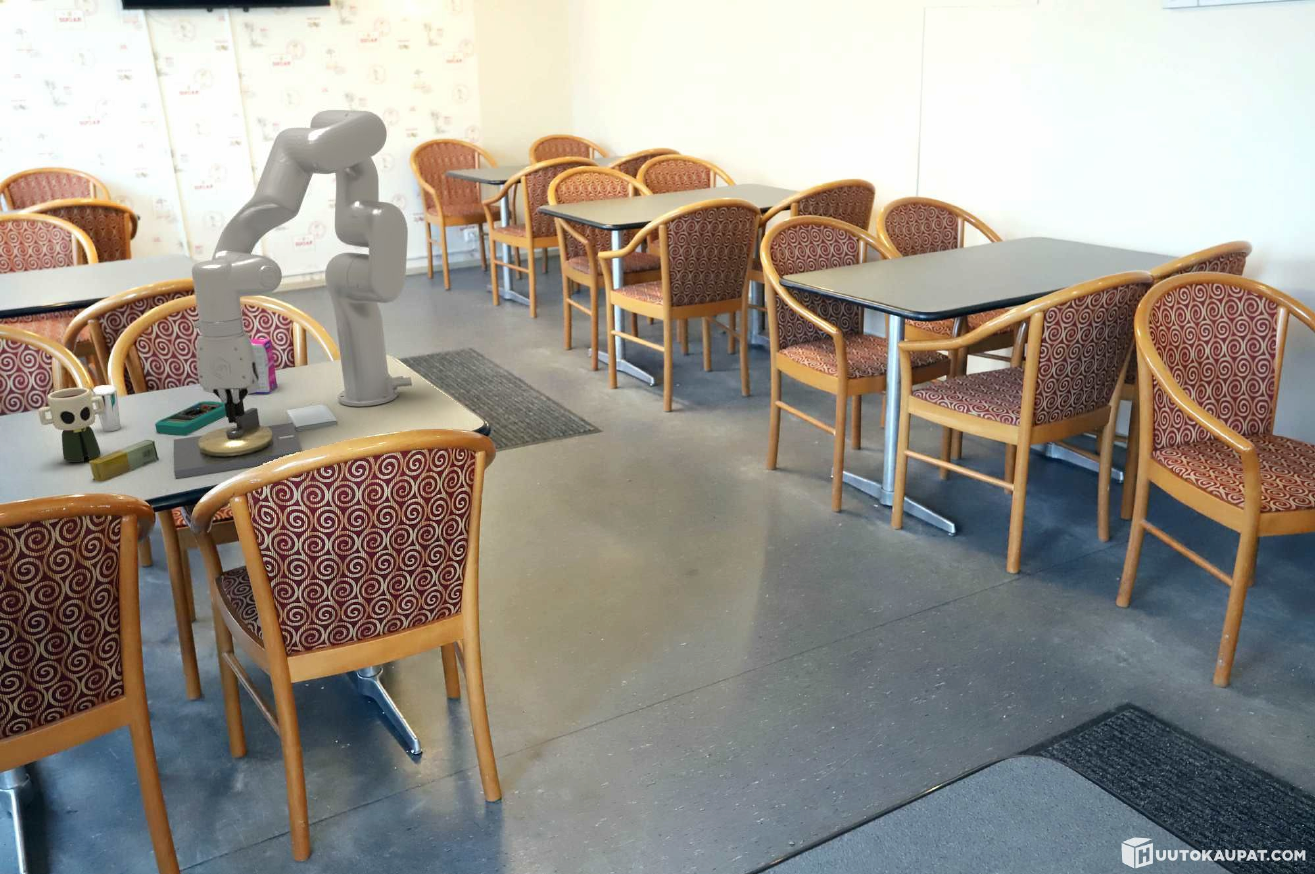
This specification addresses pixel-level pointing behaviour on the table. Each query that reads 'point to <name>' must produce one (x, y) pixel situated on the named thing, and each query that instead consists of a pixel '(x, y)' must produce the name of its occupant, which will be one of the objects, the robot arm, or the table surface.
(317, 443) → the table surface
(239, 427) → the dial
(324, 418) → the hard drive
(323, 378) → the table surface
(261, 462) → the base plate
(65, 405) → the character mug
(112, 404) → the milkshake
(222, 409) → the digital multimeter
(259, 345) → the supplement box
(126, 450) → the medication box
